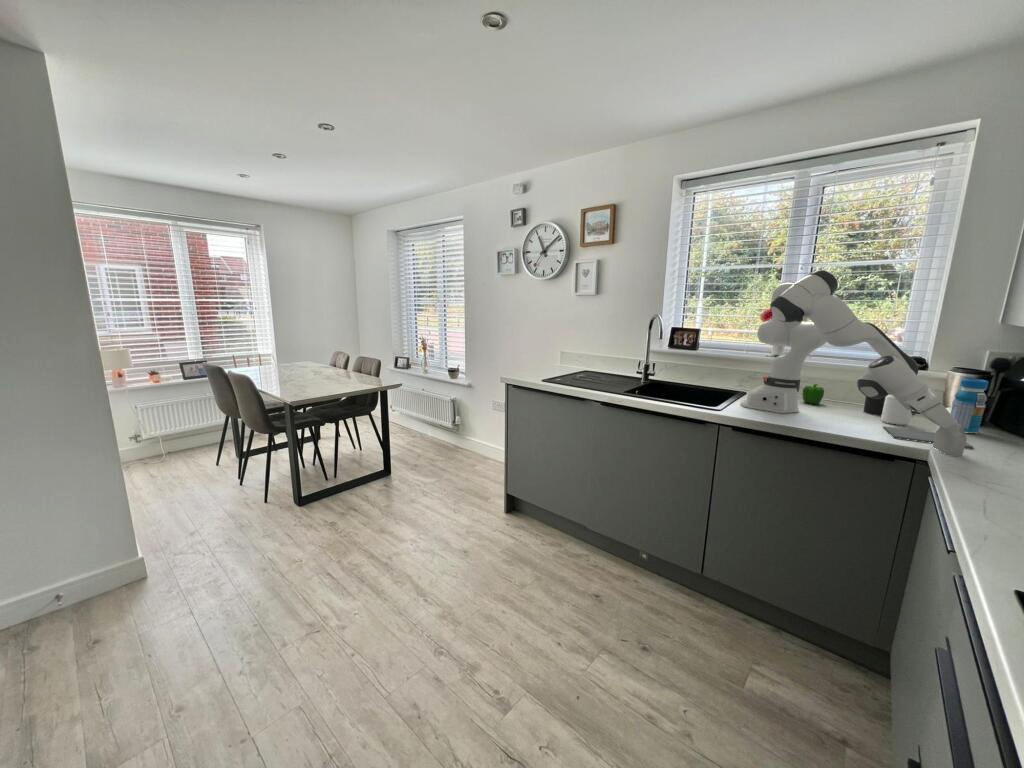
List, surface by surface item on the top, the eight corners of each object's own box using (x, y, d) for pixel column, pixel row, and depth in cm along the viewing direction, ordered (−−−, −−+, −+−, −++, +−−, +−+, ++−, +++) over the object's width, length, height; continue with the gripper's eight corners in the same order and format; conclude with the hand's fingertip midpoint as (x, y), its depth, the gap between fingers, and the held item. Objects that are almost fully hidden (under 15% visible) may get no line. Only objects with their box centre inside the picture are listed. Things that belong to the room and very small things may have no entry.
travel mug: (866, 414, 178) (876, 368, 173) (859, 409, 184) (868, 366, 180) (888, 416, 175) (898, 370, 171) (880, 411, 182) (890, 367, 178)
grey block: (947, 455, 130) (955, 425, 128) (932, 448, 136) (939, 419, 134) (962, 456, 129) (969, 426, 127) (946, 449, 135) (953, 420, 133)
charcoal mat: (893, 438, 145) (894, 436, 145) (882, 428, 157) (883, 426, 157) (973, 449, 136) (973, 446, 135) (954, 437, 148) (955, 435, 147)
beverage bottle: (947, 431, 155) (960, 379, 151) (944, 426, 162) (957, 376, 157) (980, 436, 150) (994, 382, 146) (976, 430, 156) (989, 379, 152)
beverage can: (913, 426, 160) (919, 397, 157) (889, 425, 161) (895, 395, 159) (898, 421, 168) (904, 392, 165) (875, 419, 169) (881, 391, 167)
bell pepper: (801, 400, 201) (805, 380, 199) (822, 403, 196) (826, 382, 194) (800, 403, 195) (803, 382, 193) (821, 406, 190) (825, 385, 188)
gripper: (897, 397, 144) (928, 428, 141) (917, 410, 126) (953, 446, 124) (917, 386, 141) (949, 418, 138) (940, 398, 123) (978, 434, 121)
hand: (951, 431), depth 131 cm, fingers open, 8 cm apart
